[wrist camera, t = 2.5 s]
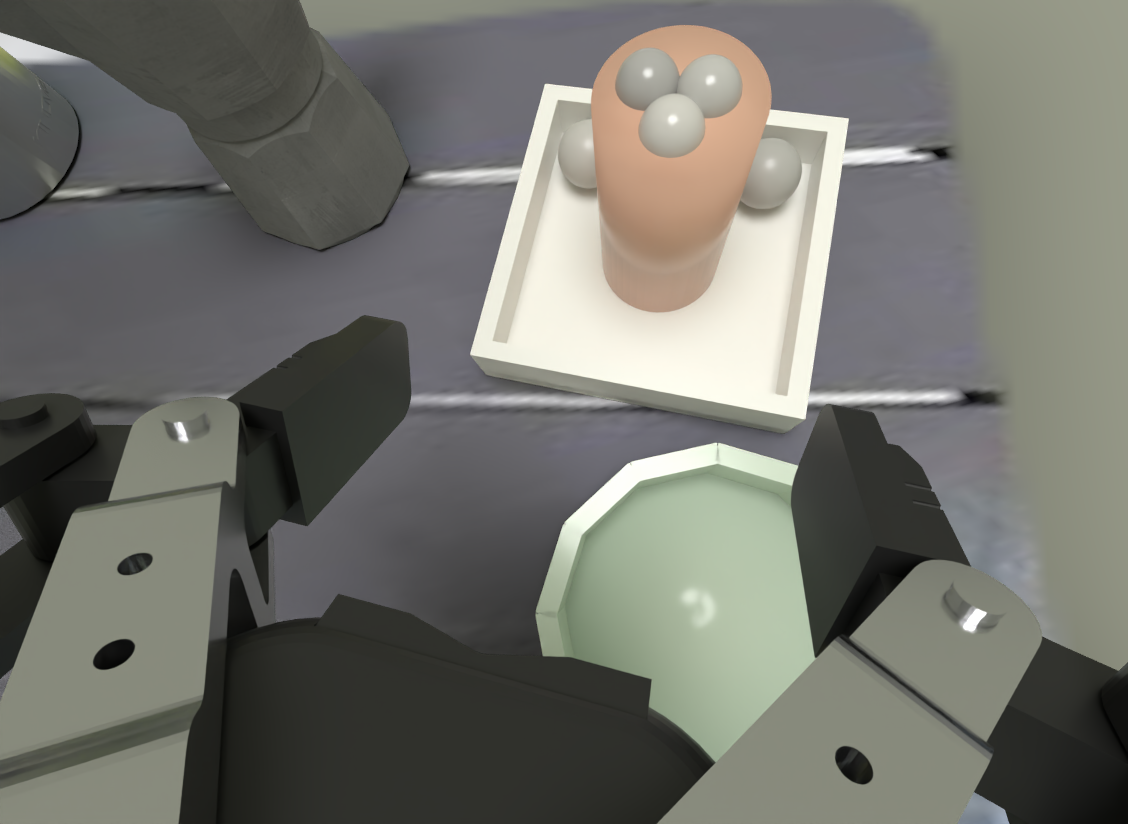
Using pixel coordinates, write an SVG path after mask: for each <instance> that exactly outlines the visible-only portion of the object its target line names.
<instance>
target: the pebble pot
mask: <svg viewBox="0 0 1128 824" xmlns="http://www.w3.org/2000/svg"><path fill="white" fill-rule="evenodd" d="M770 107H771V87H770V82H769V79H768V75H767V73H766V71H765V69H764V66H763V65H762V63H761V62H760V60H759V59H758V57H757V56H756V55H755V54H754V53H753V52H752V51H751V50H750V49H749V48H748V47H747V46H746V45H744V44H743V43H742V42H740V41H739V40H737V39H736V38H734V37H732V36H730V35H728V34H726V33H724V32H721V31H718V30H715V29H711V28H707V27H702V26H693V25H678V26H668V27H663V28H659V29H655V30H652V31H649V32H646V33H644V34H642V35H639V36H637V37H635V38H633V39H632V40H630V41H628V42H627V43H625V44H624V45H623V46H621V47H620V48H619V49H618V50H617V51H615V52H614V53H613V54H612V55H611V56H610V58H609V59H608V60H607V61H606V62H605V64H604V65H603V67H602V68H601V70H600V72H599V73H598V76H597V78H596V80H595V83H594V86H593V90H592V96H591V116H592V129H593V143H594V156H595V170H596V183H597V197H598V210H599V224H600V238H601V251H602V265H603V271H604V275H605V278H606V281H607V283H608V285H609V286H610V288H611V289H612V291H613V292H614V293H615V294H616V295H617V296H618V297H619V298H620V299H621V300H622V301H624V302H625V303H627V304H628V305H630V306H632V307H634V308H637V309H640V310H643V311H648V312H658V313H659V312H670V311H675V310H678V309H681V308H683V307H686V306H688V305H690V304H691V303H693V302H695V301H696V300H697V299H698V298H700V297H701V296H702V295H703V294H704V293H705V291H706V290H707V289H708V287H709V286H710V284H711V282H712V281H713V278H714V276H715V273H716V270H717V267H718V264H719V261H720V258H721V255H722V252H723V249H724V246H725V243H726V240H727V237H728V234H729V231H730V228H731V225H732V223H733V220H734V217H735V214H736V211H737V208H738V205H739V202H740V199H741V196H742V193H743V190H744V187H745V184H746V181H747V178H748V175H749V172H750V169H751V166H752V163H753V160H754V158H755V155H756V152H757V149H758V146H759V143H760V140H761V137H762V134H763V131H764V128H765V125H766V122H767V119H768V116H769V112H770Z"/></svg>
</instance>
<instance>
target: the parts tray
mask: <svg viewBox="0 0 1128 824" xmlns="http://www.w3.org/2000/svg"><path fill="white" fill-rule="evenodd" d="M592 90H593V89H586V88H577V87H569V86H560V85H551V84H545V87H544V90H543V94H542V98H541V101H540V105H539V108H538V112H537V116H536V119H535V123H534V126H533V130H532V134H531V137H530V141H529V144H528V148H527V152H526V155H525V159H524V162H523V166H522V170H521V173H520V177H519V180H518V184H517V188H516V191H515V195H514V198H513V202H512V206H511V209H510V213H509V216H508V220H507V224H506V227H505V231H504V234H503V238H502V242H501V245H500V249H499V252H498V256H497V260H496V263H495V267H494V271H493V274H492V278H491V281H490V285H489V289H488V292H487V296H486V299H485V303H484V307H483V310H482V314H481V317H480V321H479V325H478V328H477V332H476V335H475V339H474V343H473V346H472V350H471V353H470V355H471V357H472V358H473V359H474V360H475V361H476V363H477V364H478V365H479V366H480V368H481V369H482V370H483V371H484V373H485V374H486V375H488V376H493V377H498V378H503V379H508V380H514V381H519V382H524V383H529V384H534V385H539V386H544V387H549V388H554V389H559V390H564V391H569V392H574V393H579V394H584V395H589V396H594V397H599V398H605V399H610V400H615V401H620V402H625V403H630V404H635V405H640V406H645V407H650V408H655V409H660V410H665V411H670V412H675V413H680V414H685V415H690V416H696V417H701V418H706V419H711V420H716V421H721V422H726V423H731V424H736V425H741V426H746V427H751V428H756V429H761V430H766V431H771V432H776V433H781V434H785V433H786V432H788V431H789V430H791V429H792V428H794V427H795V426H796V425H798V424H799V423H801V422H802V421H804V420H805V417H806V410H807V404H808V397H809V390H810V383H811V376H812V369H813V362H814V355H815V348H816V341H817V334H818V328H819V321H820V314H821V307H822V300H823V293H824V286H825V279H826V272H827V265H828V259H829V252H830V245H831V238H832V231H833V224H834V217H835V210H836V203H837V196H838V190H839V183H840V176H841V169H842V162H843V155H844V148H845V141H846V134H847V127H848V120H849V119H848V118H839V117H830V116H821V115H813V114H804V113H795V112H787V111H778V110H770V112H769V116H768V119H767V122H766V125H765V128H764V131H763V134H762V137H761V140H760V143H759V146H758V149H757V152H756V155H755V158H754V160H753V163H752V166H751V169H750V172H749V175H748V178H747V181H746V184H745V187H744V190H743V193H742V196H741V199H740V202H739V205H738V208H737V211H736V214H735V217H734V220H733V223H732V225H731V228H730V231H729V234H728V237H727V240H726V243H725V246H724V249H723V252H722V255H721V258H720V261H719V264H718V267H717V270H716V273H715V276H714V278H713V281H712V282H711V284H710V286H709V287H708V289H707V290H706V291H705V293H704V294H703V295H702V296H701V297H700V298H698V299H697V300H696V301H695V302H693V303H691V304H690V305H688V306H686V307H683V308H681V309H678V310H675V311H670V312H659V313H658V312H648V311H643V310H640V309H637V308H634V307H632V306H630V305H628V304H627V303H625V302H624V301H622V300H621V299H620V298H619V297H618V296H617V295H616V294H615V293H614V292H613V291H612V289H611V288H610V286H609V285H608V283H607V281H606V278H605V275H604V271H603V265H602V251H601V238H600V224H599V210H598V197H597V183H596V170H595V156H594V143H593V129H592V116H591V96H592Z"/></svg>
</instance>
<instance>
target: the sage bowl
mask: <svg viewBox="0 0 1128 824" xmlns="http://www.w3.org/2000/svg"><path fill="white" fill-rule="evenodd" d="M797 468H798V466H797V465H793V464H790V463H786V462H783V461H779V460H776V459H773V458H769V457H766V456H762V455H759V454H755V453H752V452H749V451H745V450H742V449H738V448H735V447H731V446H728V445H725V444H721V443H718V444H717V443H713V444H708V445H704V446H699V447H695V448H690V449H686V450H682V451H677V452H673V453H668V454H664V455H659V456H655V457H650V458H646V459H641V460H637V461H633V462H631V463H630V464H629V463H628V464H627V465H626V466H625V467H624V468H623V469H622V470H621V471H619V472H618V473H617V474H616V475H615V476H614V477H613V478H612V479H611V480H610V481H609V482H608V483H606V484H605V485H604V486H603V487H602V488H601V489H600V490H599V491H598V492H597V493H596V494H595V495H593V496H592V497H591V498H590V499H589V500H588V501H587V502H586V503H585V504H584V505H583V506H582V507H580V508H579V509H578V510H577V511H576V512H575V513H574V514H573V515H572V516H571V517H570V518H569V519H567V520H566V521H565V523H566V525H565V524H563V527H562V530H561V533H560V536H559V539H558V542H557V546H556V549H555V552H554V555H553V558H552V561H551V564H550V568H549V571H548V574H547V577H546V580H545V583H544V586H543V589H542V593H541V596H540V599H539V602H538V605H537V608H536V611H535V612H537V613H536V614H535V616H536V621H537V627H538V632H539V637H540V643H541V648H542V654H543V656H556V657H572V658H576V659H579V660H583V661H587V662H590V663H594V664H598V665H601V666H605V667H609V668H612V669H616V670H620V671H623V672H627V673H631V674H634V675H638V676H642V677H645V678H649V679H652V682H651V691H650V700H649V707H650V708H652V709H654V710H655V711H657V712H659V713H660V714H662V715H664V716H665V717H666V718H668V719H669V720H671V721H672V722H673V723H675V724H676V725H678V726H679V727H680V728H682V729H683V730H684V731H685V732H686V733H687V734H688V735H689V736H690V737H692V738H693V739H694V740H695V741H696V742H697V743H698V744H699V745H700V746H701V747H702V748H703V749H704V750H705V751H706V752H707V753H708V755H709V756H710V757H711V758H712V759H713V760H714V761H715V762H717V761H718V760H719V759H720V758H721V757H722V756H723V755H724V754H725V753H726V751H727V750H728V749H729V748H730V747H731V746H732V745H733V744H734V743H735V742H736V741H737V740H738V739H739V738H740V737H741V736H742V735H743V734H744V733H745V732H746V731H747V730H748V729H749V728H750V727H751V726H752V724H753V723H754V722H755V721H756V720H757V719H758V718H759V717H760V716H761V715H762V714H763V713H764V712H765V711H766V710H767V709H768V708H769V707H770V706H771V705H772V704H773V703H774V702H775V701H776V700H777V699H778V698H779V696H780V695H781V694H782V693H783V692H784V691H785V690H786V689H787V688H788V687H789V686H790V685H791V684H792V683H793V682H794V681H795V680H796V679H797V678H798V677H799V676H800V675H801V674H802V673H803V672H804V671H805V669H806V668H807V667H808V666H809V665H810V664H811V663H812V662H813V661H814V660H815V659H816V658H815V657H814V650H813V644H812V637H811V631H810V625H809V618H808V612H807V605H806V599H805V593H804V586H803V580H802V573H801V567H800V561H799V554H798V548H797V541H796V535H795V528H794V522H793V516H792V509H791V491H792V485H793V480H794V477H795V474H796V471H797Z"/></svg>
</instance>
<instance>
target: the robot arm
mask: <svg viewBox="0 0 1128 824" xmlns="http://www.w3.org/2000/svg"><path fill="white" fill-rule="evenodd" d="M78 136H79V129H78V120H77V117H76V115H75V112H74V110H73V108H72V107H71V105H70V104H69V103H68V102H67V100H66V99H65V98H64V97H62V96H61V95H60V94H59V93H57V92H56V91H55V90H54V89H52V88H51V87H50V86H49V85H47V84H46V83H45V82H44V81H42V80H41V79H40V78H39V77H37V76H36V75H35V74H34V73H33V72H31V71H30V70H29V69H28V68H26V67H25V66H24V65H23V64H21V63H20V62H19V61H18V60H16V59H15V58H14V57H13V56H11V55H10V54H9V53H7V52H6V51H5V50H4V49H3V48H1V47H0V219H4V218H8V217H11V216H13V215H16V214H18V213H20V212H22V211H25V210H27V209H28V208H30V207H31V206H33V205H34V204H36V203H37V202H39V201H40V200H41V199H43V198H44V197H45V196H46V195H47V194H48V193H49V192H50V191H51V190H53V189H54V187H55V186H56V185H57V184H58V182H59V181H60V180H61V179H62V177H63V176H64V175H65V173H66V171H67V169H68V168H69V166H70V164H71V162H72V160H73V157H74V154H75V151H76V149H77V144H78ZM410 400H411V381H410V366H409V351H408V337H407V331H406V328H405V326H404V324H403V323H401V322H398V321H393V320H388V319H383V318H377V317H372V316H366V315H364V316H361V317H360V318H358V319H357V320H355V321H354V322H352V323H351V324H350V325H348V326H347V327H345V328H344V329H342V330H341V331H340V332H338V333H337V334H334V335H331V336H328V337H326V338H323V339H320V340H317V341H314V342H311V343H309V344H308V345H306V346H305V347H303V348H302V349H301V350H299V351H298V352H296V353H295V354H293V355H292V358H287V359H286V360H284V361H283V362H281V363H280V364H278V365H277V369H276V368H272V369H271V370H270V371H268V372H267V373H265V374H264V375H262V376H261V377H259V378H258V379H256V380H255V381H253V382H252V383H250V384H249V385H247V386H246V387H244V388H243V389H241V390H240V391H239V392H237V393H236V394H234V395H233V396H231V397H230V398H228V399H227V400H225V399H221V398H215V397H194V398H186V399H181V400H177V401H173V402H169V403H166V404H163V405H161V406H158V407H156V408H154V409H152V410H150V411H148V412H147V413H145V414H144V415H142V416H141V417H140V418H139V419H137V420H136V422H135V423H134V424H133V425H93V424H92V422H91V420H90V418H89V415H88V413H87V411H86V409H85V406H84V404H83V402H82V401H81V400H80V399H79V398H76V397H74V396H71V395H67V394H55V393H49V394H36V395H29V396H24V397H19V398H15V399H11V400H7V401H4V402H1V403H0V508H1V507H4V508H5V510H6V512H7V513H8V515H9V517H10V518H11V520H12V522H13V523H14V525H15V526H16V528H17V530H18V531H19V533H20V535H21V536H22V538H23V539H22V540H21V541H20V542H18V543H17V544H16V545H14V546H13V547H12V548H10V549H9V550H7V551H6V552H5V553H3V554H2V555H1V556H0V679H1V678H2V677H3V676H4V675H5V674H6V673H7V672H8V671H9V670H11V669H12V668H13V670H12V672H11V675H10V678H9V680H8V683H7V686H6V688H5V691H4V693H3V696H2V699H1V701H0V824H957V823H958V821H959V819H960V817H961V815H962V813H963V811H964V810H965V808H966V806H967V804H968V802H969V800H970V798H971V796H972V795H973V793H974V792H975V793H977V794H979V795H980V796H982V797H984V798H986V799H987V800H989V801H991V802H993V803H994V804H996V805H998V806H1000V807H1001V808H1003V809H1005V811H1006V814H1007V818H1008V821H1009V824H1128V663H1127V664H1126V665H1125V666H1124V667H1122V668H1121V669H1120V670H1119V671H1117V670H1115V669H1113V668H1111V667H1108V666H1106V665H1104V664H1102V663H1099V662H1097V661H1095V660H1093V659H1090V658H1088V657H1086V656H1083V655H1081V654H1079V653H1077V652H1075V651H1072V650H1070V649H1068V648H1066V647H1064V646H1061V645H1059V644H1057V643H1055V642H1053V641H1050V640H1048V639H1046V638H1044V637H1042V631H1041V628H1040V624H1039V622H1038V620H1037V619H1036V617H1035V615H1034V614H1033V612H1032V611H1031V610H1030V608H1029V607H1028V606H1027V605H1026V604H1025V603H1024V601H1023V600H1022V599H1021V598H1020V597H1018V596H1017V595H1016V594H1015V593H1014V592H1013V591H1012V590H1010V589H1009V588H1008V587H1006V586H1005V585H1004V584H1002V583H1001V582H999V581H998V580H996V579H994V578H993V577H991V576H989V575H987V574H985V573H984V572H982V571H979V570H977V569H975V568H973V567H971V566H970V564H969V562H968V559H967V557H966V555H965V553H964V551H963V549H962V547H961V545H960V543H959V541H958V539H957V537H956V535H955V533H954V531H953V529H952V527H951V525H950V523H949V521H948V519H947V517H946V515H945V513H944V511H943V510H940V506H941V505H940V503H939V501H938V499H937V497H936V495H935V493H934V492H932V491H931V489H932V487H931V485H930V483H929V481H928V479H927V477H926V475H925V473H924V471H923V469H922V467H921V466H920V465H919V464H918V463H917V462H916V461H915V460H914V459H913V458H912V457H911V456H910V455H909V454H908V453H907V452H906V451H904V450H903V449H902V448H901V447H900V446H898V445H893V444H888V443H887V441H886V439H885V437H884V434H883V432H882V430H881V428H880V425H879V423H878V421H877V418H876V416H875V414H874V413H873V412H869V411H863V410H858V409H853V408H847V407H842V406H837V405H832V404H826V405H825V406H824V407H823V409H822V410H821V412H820V414H819V416H818V418H817V421H816V423H815V426H814V428H813V431H812V433H811V436H810V438H809V441H808V443H807V446H806V448H805V451H804V453H803V456H802V458H801V461H800V463H799V466H798V468H797V471H796V474H795V477H794V480H793V485H792V491H791V509H792V516H793V522H794V528H795V535H796V541H797V548H798V554H799V561H800V567H801V573H802V580H803V586H804V593H805V599H806V605H807V612H808V618H809V625H810V631H811V637H812V644H813V650H814V657H815V658H816V659H815V660H814V661H813V662H812V663H811V664H810V665H809V666H808V667H807V668H806V669H805V671H804V672H803V673H802V674H801V675H800V676H799V677H798V678H797V679H796V680H795V681H794V682H793V683H792V684H791V685H790V686H789V687H788V688H787V689H786V690H785V691H784V692H783V693H782V694H781V695H780V696H779V698H778V699H777V700H776V701H775V702H774V703H773V704H772V705H771V706H770V707H769V708H768V709H767V710H766V711H765V712H764V713H763V714H762V715H761V716H760V717H759V718H758V719H757V720H756V721H755V722H754V723H753V724H752V726H751V727H750V728H749V729H748V730H747V731H746V732H745V733H744V734H743V735H742V736H741V737H740V738H739V739H738V740H737V741H736V742H735V743H734V744H733V745H732V746H731V747H730V748H729V749H728V750H727V751H726V753H725V754H724V755H723V756H722V757H721V758H720V759H719V760H718V761H717V762H715V761H714V760H713V759H712V758H711V757H710V756H709V755H708V753H707V752H706V751H705V750H704V749H703V748H702V747H701V746H700V745H699V744H698V743H697V742H696V741H695V740H694V739H693V738H692V737H690V736H689V735H688V734H687V733H686V732H685V731H684V730H683V729H682V728H680V727H679V726H678V725H676V724H675V723H673V722H672V721H671V720H669V719H668V718H666V717H665V716H664V715H662V714H660V713H659V712H657V711H655V710H654V709H652V708H650V707H649V700H650V691H651V682H652V679H649V678H645V677H642V676H638V675H634V674H631V673H627V672H623V671H620V670H616V669H612V668H609V667H605V666H601V665H598V664H594V663H590V662H587V661H583V660H579V659H576V658H572V657H556V656H522V655H489V654H482V653H479V652H476V651H474V650H472V649H470V648H469V647H467V646H465V645H464V644H462V643H460V642H458V641H457V640H455V639H453V638H451V637H450V636H448V635H446V634H445V633H443V632H441V631H439V630H438V629H436V628H434V627H433V626H431V625H429V624H427V623H426V622H424V621H422V620H421V619H419V618H417V617H415V616H414V615H412V614H410V613H406V612H403V611H399V610H395V609H392V608H388V607H384V606H381V605H377V604H373V603H370V602H366V601H362V600H359V599H355V598H351V597H348V596H344V595H340V594H338V595H337V597H336V598H335V599H334V601H333V602H332V604H331V605H330V606H329V608H328V609H327V611H326V612H325V613H324V615H323V616H322V617H321V618H319V617H315V618H303V619H294V620H288V621H283V622H277V623H276V621H275V577H274V540H273V536H272V532H271V527H272V526H273V525H274V524H275V523H276V522H277V521H278V520H279V519H281V520H285V521H289V522H293V523H297V524H300V525H304V526H308V525H309V524H310V523H311V522H312V521H313V519H314V518H315V517H316V516H317V515H318V514H319V513H320V512H321V511H322V509H323V508H324V507H325V506H326V505H327V504H328V503H329V502H330V500H331V499H332V498H333V497H334V496H335V495H336V494H337V493H338V492H339V490H340V489H341V488H342V487H343V486H344V485H345V484H346V483H347V482H348V480H349V479H350V478H351V477H352V476H353V475H354V474H355V473H356V471H357V470H358V469H359V468H360V467H361V466H362V465H363V464H364V463H365V461H366V460H367V459H368V458H369V457H370V456H371V455H372V454H373V453H374V451H375V450H376V449H377V448H378V447H379V446H380V445H381V444H382V442H383V441H384V440H385V439H386V438H387V437H388V436H389V435H390V434H391V432H392V431H393V430H394V429H395V428H396V427H397V426H398V425H399V424H400V422H401V421H402V420H403V419H404V417H405V415H406V413H407V411H408V408H409V405H410Z"/></svg>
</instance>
